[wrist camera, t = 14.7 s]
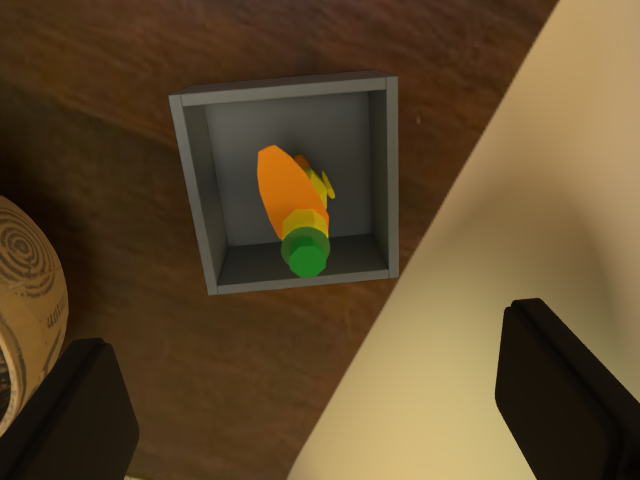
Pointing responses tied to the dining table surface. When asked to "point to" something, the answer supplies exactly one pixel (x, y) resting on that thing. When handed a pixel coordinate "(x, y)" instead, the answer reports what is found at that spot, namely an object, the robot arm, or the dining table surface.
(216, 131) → the grey bin
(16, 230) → the ceramic bowl
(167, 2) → the dining table surface
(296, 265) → the toy figure
